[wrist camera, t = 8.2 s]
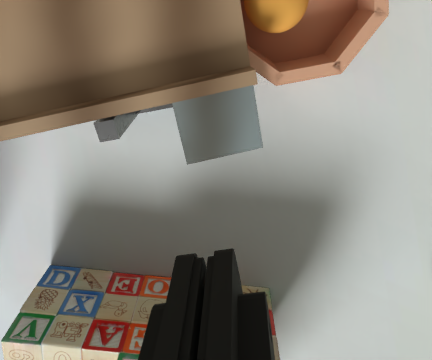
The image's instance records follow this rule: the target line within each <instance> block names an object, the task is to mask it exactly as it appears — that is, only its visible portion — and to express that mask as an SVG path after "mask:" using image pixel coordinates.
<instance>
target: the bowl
mask: <svg viewBox="0 0 432 360" xmlns="http://www.w3.org/2000/svg"><path fill="white" fill-rule="evenodd" d="M240 3H241V10H242V16H243V23H244V29H245V36H246V42H247V48H248V55H249V61H250V66H251V67H252V68H254V69H255V70H256V72H257V73H259V74H260V75H261V76H263V77H264V78H266V79H267V80H269V81H270V82H271V83H273V84H274V85H276V86H278V85H283V84H288V83H294V82H299V81H305V80H310V79H315V78H321V77H326V76H331V75H337V74H341V73H342V72H343V71H344V70H345V69H346V67H347V66H348V65H349V64H350V62H351V61H352V60H353V59H354V57H355V56H356V55H357V54H358V52H359V51H360V50H361V49H362V47H363V46H364V45H365V44H366V42H367V41H368V40H369V39H370V37H371V36H372V35H373V34H374V32H375V31H376V30H377V29H378V27H379V26H380V25H381V24H382V22H383V21H384V20H385V19H386V17H387V16H388V14H389V1H388V0H309V2H308V6H307V9H306V12H305V14H304V15H303V17H302V19H301V20H300V21H299V22H298V23H297V24H296V25H295V26H294V27H292V28H291V29H289V30H287V31H284V32H281V33H268V32H265V31H262V30H260V29H259V28H257V27H256V26H255V25H254V24H253V23H252V22H251V21H250V19H249V18H248V16H247V14H246V11H245V7H244V0H240Z"/></svg>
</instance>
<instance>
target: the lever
mask: <svg viewBox="0 0 432 360" xmlns="http://www.w3.org/2000/svg"><path fill="white" fill-rule="evenodd" d="M256 84H258V83H257V77H256V70H255V69H254V68H252V67H251V66H250V61H249V55H248V48H247V42H246V36H245V29H244V23H243V16H242V10H241V3H240V0H0V141H4V140H8V139H13V138H17V137H22V136H26V135H31V134H35V133H40V132H44V131H49V130H53V129H58V128H62V127H67V126H71V125H76V124H80V123H85V122H89V121H94V120H98V119H103V118H107V117H112V116H116V115H121V114H125V113H130V112H134V111H139V110H143V109H148V108H152V107H157V106H161V105H166V104H170V103H172V104H173V109H174V113H175V117H176V121H177V125H178V129H179V133H180V137H181V141H182V145H183V149H184V153H185V158H186V162H187V165H188V164H192V163H196V162H201V161H205V160H210V159H214V158H218V157H223V156H227V155H232V154H236V153H241V152H245V151H249V150H254V149H258V148H263V145H262V139H261V132H260V126H259V119H258V113H257V106H256V100H255V93H254V87H253V85H256Z"/></svg>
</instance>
